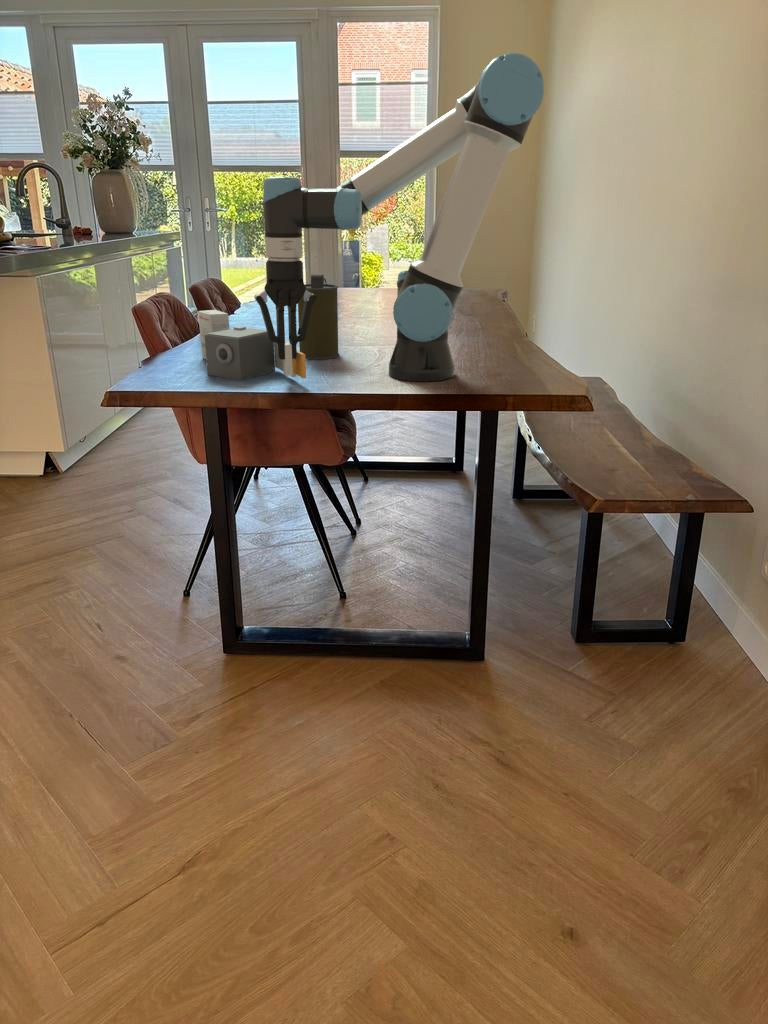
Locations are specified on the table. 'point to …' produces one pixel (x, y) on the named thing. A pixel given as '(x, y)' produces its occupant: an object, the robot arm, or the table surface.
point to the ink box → (211, 324)
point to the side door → (297, 363)
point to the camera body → (239, 353)
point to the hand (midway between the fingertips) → (288, 374)
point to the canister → (321, 321)
